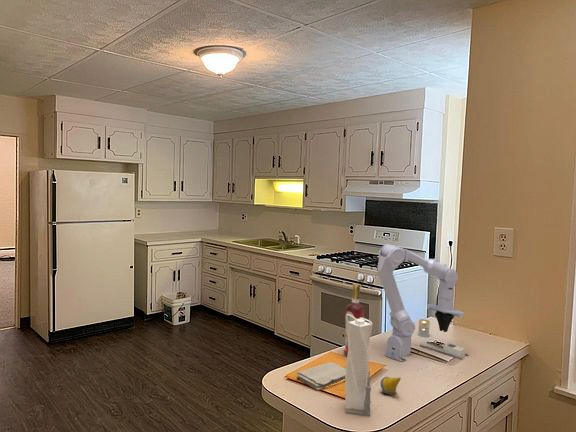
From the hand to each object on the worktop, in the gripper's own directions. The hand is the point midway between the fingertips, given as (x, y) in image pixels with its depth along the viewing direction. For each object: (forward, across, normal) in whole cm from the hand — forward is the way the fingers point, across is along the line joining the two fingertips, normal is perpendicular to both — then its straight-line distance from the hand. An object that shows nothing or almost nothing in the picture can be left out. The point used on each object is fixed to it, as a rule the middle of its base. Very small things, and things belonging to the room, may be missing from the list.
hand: (443, 330), depth 172 cm
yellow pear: (+10, -5, +45) cm, 46 cm away
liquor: (+10, +22, +30) cm, 38 cm away
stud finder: (+8, -5, 0) cm, 9 cm away
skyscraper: (+10, -3, +61) cm, 62 cm away
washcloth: (+10, +15, +53) cm, 56 cm away
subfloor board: (+9, -2, -4) cm, 10 cm away
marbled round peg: (+9, +14, -10) cm, 19 cm away
